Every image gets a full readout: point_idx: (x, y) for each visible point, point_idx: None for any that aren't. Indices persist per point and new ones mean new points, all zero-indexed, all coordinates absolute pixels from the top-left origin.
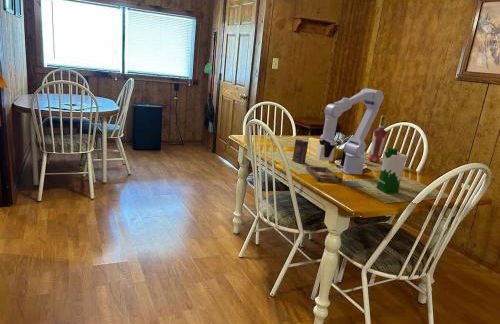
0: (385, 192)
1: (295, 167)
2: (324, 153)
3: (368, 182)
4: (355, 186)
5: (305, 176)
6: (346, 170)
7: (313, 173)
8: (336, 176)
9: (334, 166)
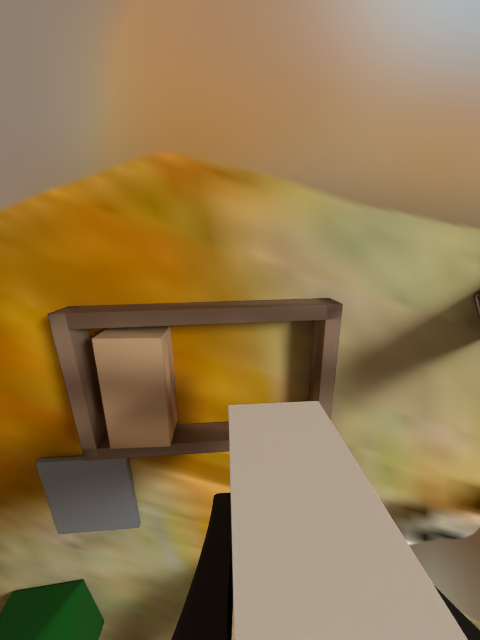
0: (10, 596)
1: (376, 225)
2: (223, 538)
3: (159, 570)
4: (48, 499)
5: (163, 242)
6: None
7: (171, 308)
8: (128, 449)
9: (406, 494)
